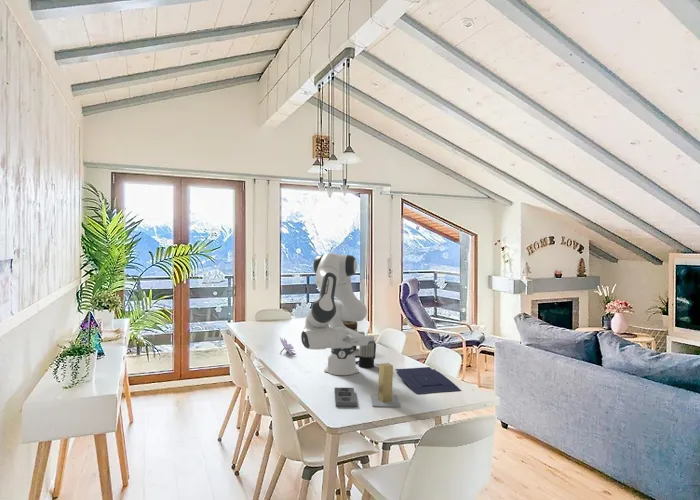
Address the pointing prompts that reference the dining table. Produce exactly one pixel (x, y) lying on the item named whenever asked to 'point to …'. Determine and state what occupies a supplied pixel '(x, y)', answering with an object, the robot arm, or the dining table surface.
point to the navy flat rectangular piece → (426, 380)
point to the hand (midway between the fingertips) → (368, 335)
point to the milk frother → (367, 355)
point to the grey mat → (378, 403)
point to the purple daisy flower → (286, 346)
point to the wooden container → (352, 326)
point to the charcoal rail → (345, 397)
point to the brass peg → (385, 382)
